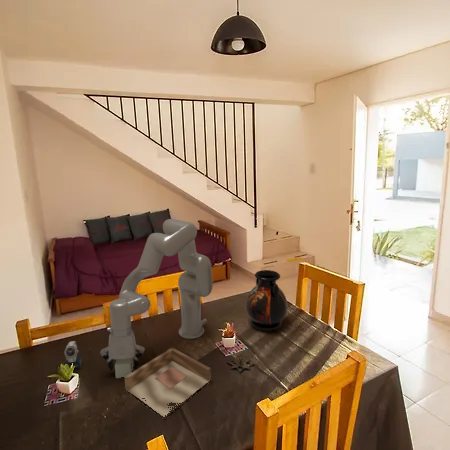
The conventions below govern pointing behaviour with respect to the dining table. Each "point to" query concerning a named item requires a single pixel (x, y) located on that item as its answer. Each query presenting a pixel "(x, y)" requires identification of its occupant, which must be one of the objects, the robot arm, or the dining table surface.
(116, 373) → the cube
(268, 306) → the amphora vase
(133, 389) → the tray
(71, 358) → the watch
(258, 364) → the dining table surface
